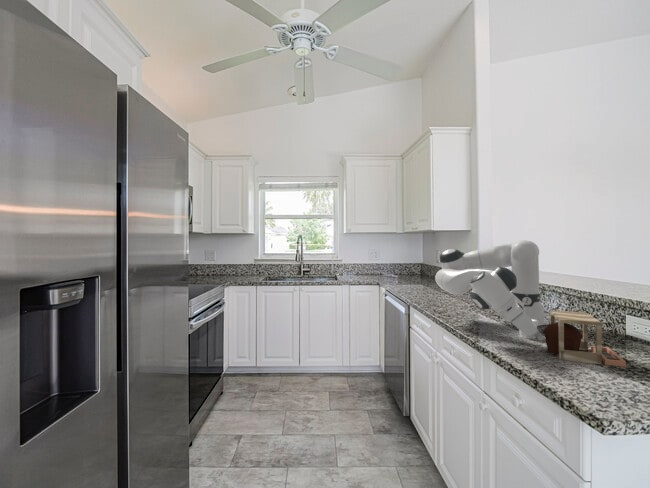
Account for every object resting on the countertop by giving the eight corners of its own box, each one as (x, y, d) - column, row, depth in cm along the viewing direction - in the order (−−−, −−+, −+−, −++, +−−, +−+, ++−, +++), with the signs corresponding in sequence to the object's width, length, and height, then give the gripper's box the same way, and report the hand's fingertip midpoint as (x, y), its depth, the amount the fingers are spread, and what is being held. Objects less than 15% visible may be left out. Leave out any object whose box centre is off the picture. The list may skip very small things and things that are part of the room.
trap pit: (590, 350, 122) (590, 345, 122) (608, 351, 120) (608, 347, 120) (605, 364, 107) (605, 359, 107) (625, 366, 105) (625, 361, 105)
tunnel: (550, 345, 127) (550, 310, 127) (586, 349, 123) (586, 312, 123) (559, 359, 112) (559, 319, 112) (601, 364, 108) (601, 322, 108)
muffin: (566, 347, 125) (566, 319, 125) (591, 357, 114) (592, 327, 114) (534, 348, 124) (534, 320, 124) (557, 358, 113) (557, 327, 113)
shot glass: (540, 339, 135) (540, 321, 135) (521, 338, 137) (521, 321, 137) (533, 335, 142) (533, 318, 142) (515, 334, 144) (515, 317, 144)
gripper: (502, 309, 135) (531, 337, 131) (505, 319, 117) (539, 352, 113) (515, 298, 133) (544, 326, 129) (520, 307, 115) (555, 340, 111)
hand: (542, 339), depth 121 cm, fingers closed
